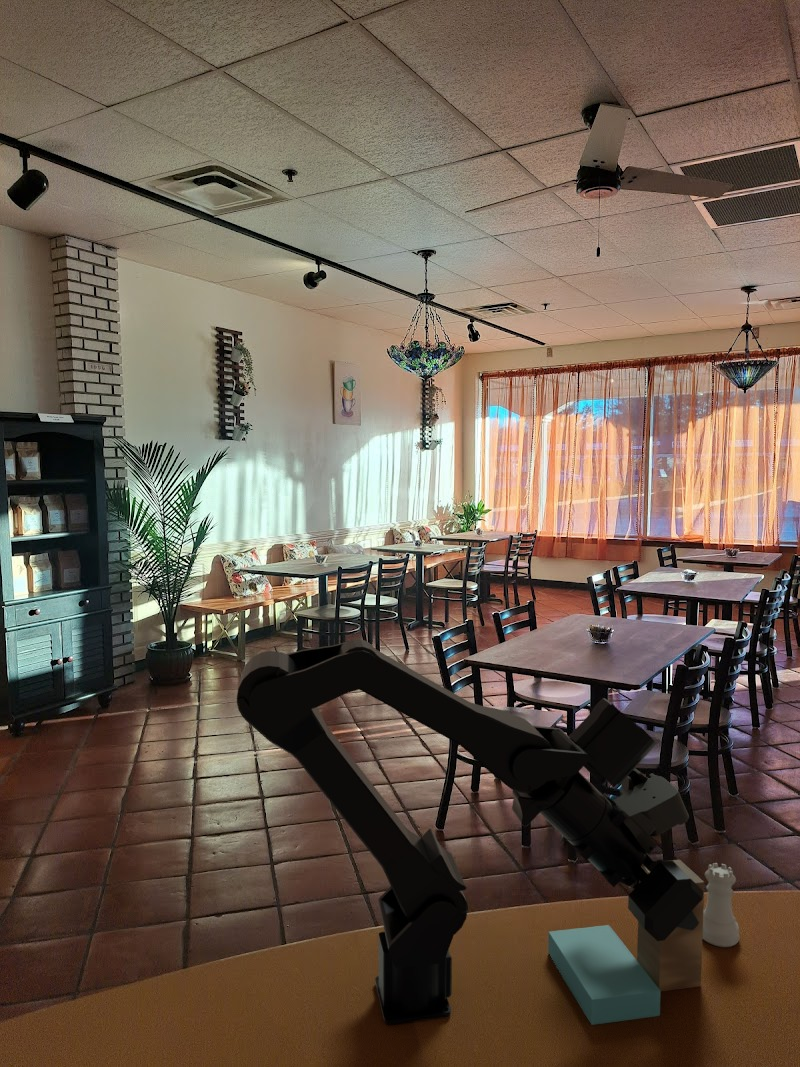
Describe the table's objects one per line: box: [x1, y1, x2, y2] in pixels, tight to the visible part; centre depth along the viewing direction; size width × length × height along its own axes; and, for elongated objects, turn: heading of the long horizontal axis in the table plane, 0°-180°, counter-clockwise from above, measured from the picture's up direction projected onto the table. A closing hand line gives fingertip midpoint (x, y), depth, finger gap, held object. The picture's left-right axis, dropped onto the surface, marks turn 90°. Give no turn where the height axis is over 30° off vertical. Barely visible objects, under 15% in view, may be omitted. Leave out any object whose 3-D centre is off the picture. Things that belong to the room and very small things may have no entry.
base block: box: [547, 924, 662, 1026], centre depth 78 cm, size 7×11×2 cm, turn 11°
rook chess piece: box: [702, 862, 741, 948], centre depth 86 cm, size 4×4×8 cm
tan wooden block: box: [636, 859, 705, 992], centre depth 79 cm, size 5×5×11 cm
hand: (682, 912), depth 80 cm, fingers closed on tan wooden block, 5 cm apart
